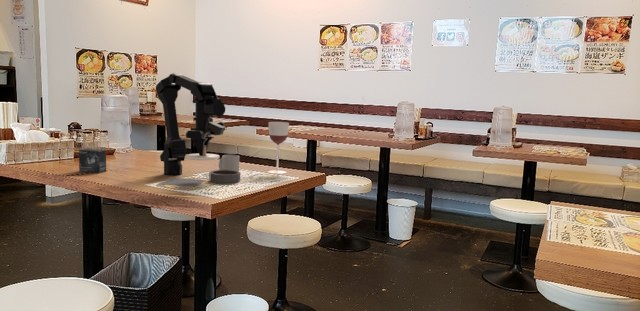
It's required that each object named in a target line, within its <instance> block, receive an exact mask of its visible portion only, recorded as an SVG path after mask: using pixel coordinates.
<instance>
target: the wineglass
mask: <svg viewBox="0 0 640 311" xmlns="http://www.w3.org/2000/svg"><path fill="white" fill-rule="evenodd" d="M289 127H290V122H288V121H287V122H286V121H269V122H268V135H269V139H270V141H271V142H273V143H275V144H276V146H277V147H276V168H275V169H274V170H268V171H267V173H271V174H276V175H278V174H286V173H288V172H287V171H285V170H279V164H280V163H279V161H280V160H279V159H280V156H279V155H280V145H281V144H282V143H284V142H285V141H286V140H287V139H288V138H287V137H288V134H289V130H290V128H289Z"/></svg>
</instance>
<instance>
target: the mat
mask: <svg viewBox="0 0 640 311" xmlns="http://www.w3.org/2000/svg"><path fill="white" fill-rule="evenodd" d="M206 181H208V179H199V178H198V179H196V178H195V179H194V178H181V177H173V178H170V179H168V180H165V181H163V182H160V183H159V185H162V186H163V185H165V186H175V187H176V186H178V187H180V186H181V187H193V188H195V187H196V186H199V185H201V184H202V183H205V182H206Z"/></svg>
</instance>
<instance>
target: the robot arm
mask: <svg viewBox="0 0 640 311" xmlns="http://www.w3.org/2000/svg"><path fill="white" fill-rule="evenodd" d="M182 88H183V89H186V90H188V91H189V92H190V94H191V95H193V97H194V99H193V100H192V104H195V105H194V106H195V108H194V109H195V113H194V114H195V117H193V121H195V125H194V128H193V129H191V130H186V132H185V138H186V139H190V140H192V142H193V144H194V146H195V148H196V150H197V152H198V153H197V154H199V155H201V156H202V155H203V151H204V145H206V152H207V151H208V147H209V144H210V142H211V141H212V140H213V139H214V138H215V137H214V136H221V135H224V132H225V131H226V126H225V124H226V123H225V122H223V121H220V122H214V119H213V117H219V118H220V117H222V116H223V115H224V114H225V113H226V107H225V104H224V103H223V101H222V98H219V97H218V95H217V93H216V90H215V88H214V86H213V84H212V83H211V82H203V81H197V80H195V79H192V78H190V77H187V76H185V75H183V74H182V73H176V72H175V73H171V74H169V75H168V76H167V77H165V78H162V79H161V80H160V81H159V82H158V83H157V84H156V86H155V92H156V95H157V99H158V100H159V101H160V103H161V104H162V109H163V118H164V123H165V124H164V125H165V131H166V140H165V142H164V145H163V148H164V149H163V151H162V153H161V154H160V156H159V158H160V162H163V174H162V176H171V177H173V176H174V177H175V176H176V177H177V176H180V175H183V174H184V173H183V164H182V162H184V161H185V159H186V158H185V155H187V146H186V140H185V139H182V137H181V136H180V131H179V125H178V124H179V122H178V114H177V108H176V101H177V98H178V96H179V93H178V92H179V91H180V90H181V89H182Z"/></svg>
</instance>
